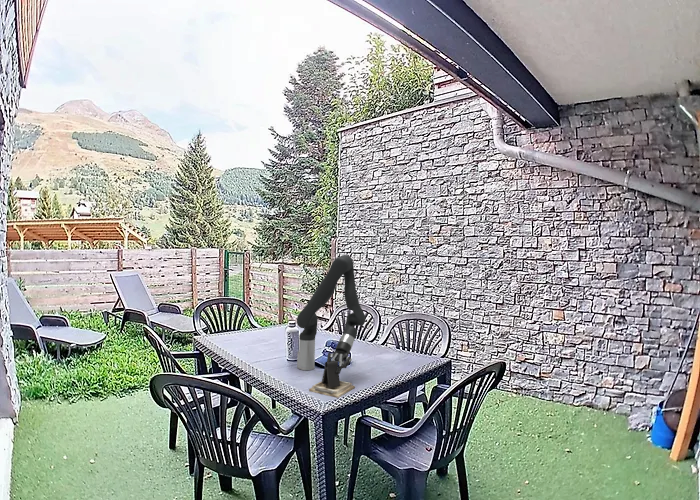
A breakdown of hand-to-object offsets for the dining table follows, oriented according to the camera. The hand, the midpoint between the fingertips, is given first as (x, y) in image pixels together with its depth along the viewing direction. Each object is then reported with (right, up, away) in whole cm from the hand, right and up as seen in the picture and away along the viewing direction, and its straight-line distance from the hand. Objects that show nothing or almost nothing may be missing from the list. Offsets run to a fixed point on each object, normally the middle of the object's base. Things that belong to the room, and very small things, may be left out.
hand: (332, 372), depth 230 cm
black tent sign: (-1, -6, +1) cm, 6 cm away
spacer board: (0, -8, 0) cm, 8 cm away
